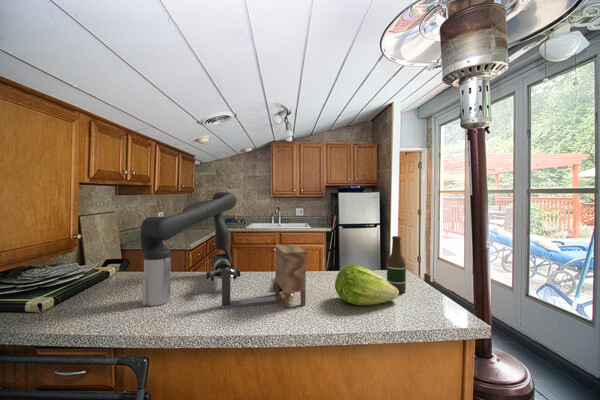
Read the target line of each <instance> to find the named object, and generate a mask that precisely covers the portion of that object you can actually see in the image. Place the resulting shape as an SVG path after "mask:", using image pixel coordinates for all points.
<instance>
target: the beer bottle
mask: <svg viewBox="0 0 600 400" xmlns="http://www.w3.org/2000/svg"><path fill="white" fill-rule="evenodd" d="M391 239H392V241H391V242H392V243H391V244H392V245H391V253H390V256H388V258H387V261H386V281H388V282H389V283H390V284H391V285H393V286H394V287H396V288H397V289H398V291H399V295H403V294H405V293H406V291H407V290H406V289H407V281H406V280H407V279H406V278H407V276H406V275H407V266H406V265H407V263H406V260H405V258H404V257H403V255H402V249H401V248H402V246H401V245H402V243H401V240H402V237H401V236H399V235H394V236H392V237H391Z"/></svg>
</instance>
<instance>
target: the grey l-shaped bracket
mask: <svg viewBox="0 0 600 400" xmlns="http://www.w3.org/2000/svg"><path fill="white" fill-rule="evenodd" d="M277 303H279V299H278V297H277V295H275V296H266V297H265V296H264V297H257V298H248V299H240V300H239V299H238V300H231V278H230V268H227V269H222V279H221V310H228V309H229V310H230V309H236V308H243V307H251V306H253V307H254V306H261V305H268V304H277Z"/></svg>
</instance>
